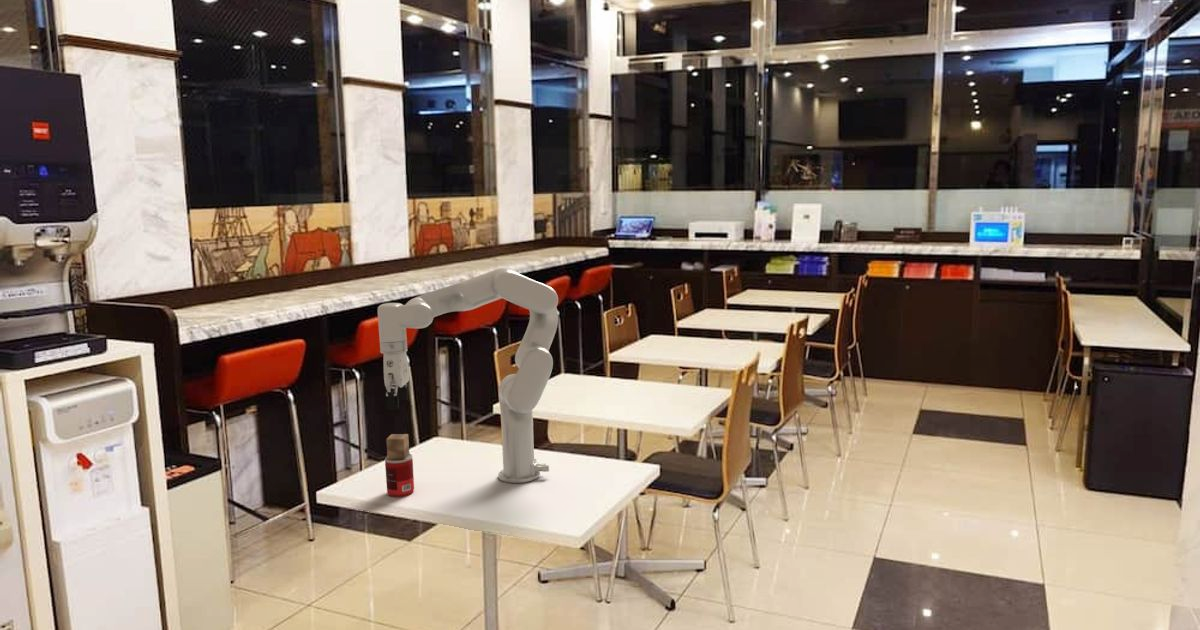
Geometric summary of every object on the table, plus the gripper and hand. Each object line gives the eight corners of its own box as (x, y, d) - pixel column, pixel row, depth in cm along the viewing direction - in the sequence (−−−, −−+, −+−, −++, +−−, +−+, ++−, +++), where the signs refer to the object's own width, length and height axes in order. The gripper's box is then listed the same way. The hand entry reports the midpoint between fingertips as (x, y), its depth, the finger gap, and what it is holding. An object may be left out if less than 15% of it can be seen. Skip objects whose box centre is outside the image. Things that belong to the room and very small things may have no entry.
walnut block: (409, 453, 251) (408, 434, 251) (404, 459, 247) (403, 439, 246) (392, 454, 252) (391, 434, 251) (387, 459, 247) (386, 439, 246)
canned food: (417, 488, 254) (415, 452, 253) (409, 498, 247) (407, 461, 245) (392, 487, 255) (390, 452, 253) (383, 497, 247) (381, 461, 246)
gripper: (398, 352, 236) (402, 412, 239) (414, 340, 253) (418, 397, 256) (371, 353, 236) (376, 413, 239) (389, 341, 253) (393, 397, 256)
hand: (397, 404), depth 247 cm, fingers open, 9 cm apart
